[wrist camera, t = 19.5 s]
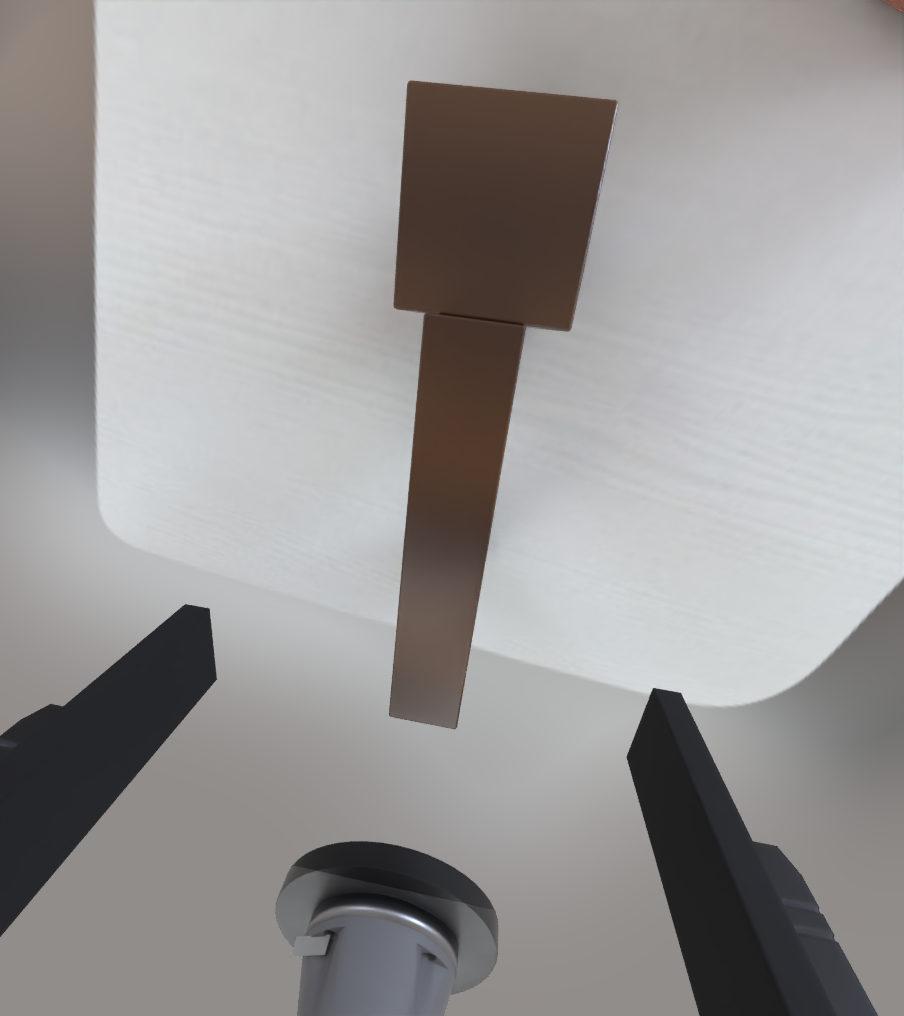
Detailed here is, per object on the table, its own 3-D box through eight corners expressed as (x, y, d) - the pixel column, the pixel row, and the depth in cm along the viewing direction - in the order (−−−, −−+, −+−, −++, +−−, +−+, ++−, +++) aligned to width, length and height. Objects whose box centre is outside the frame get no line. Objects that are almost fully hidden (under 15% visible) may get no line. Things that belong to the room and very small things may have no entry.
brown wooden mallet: (500, 562, 26) (493, 737, 15) (418, 549, 27) (352, 710, 15) (568, 207, 19) (648, 41, 8) (455, 194, 20) (381, 19, 8)
